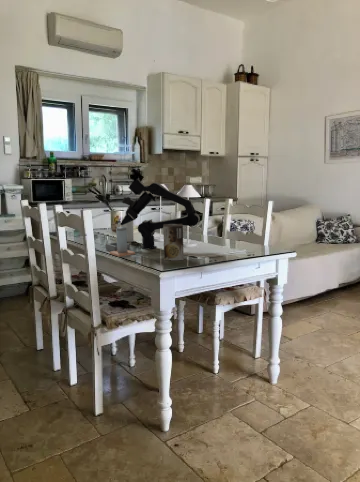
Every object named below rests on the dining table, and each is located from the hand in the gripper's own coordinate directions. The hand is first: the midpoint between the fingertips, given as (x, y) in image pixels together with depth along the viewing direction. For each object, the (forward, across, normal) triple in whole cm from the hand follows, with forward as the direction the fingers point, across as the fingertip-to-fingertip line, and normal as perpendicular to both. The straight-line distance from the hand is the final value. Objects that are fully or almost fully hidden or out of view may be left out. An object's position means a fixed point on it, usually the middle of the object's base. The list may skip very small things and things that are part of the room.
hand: (121, 223), depth 213 cm
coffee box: (-8, +27, +27) cm, 40 cm away
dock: (+10, +9, +9) cm, 16 cm away
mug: (+9, -19, +10) cm, 23 cm away
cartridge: (+8, +14, +9) cm, 18 cm away
